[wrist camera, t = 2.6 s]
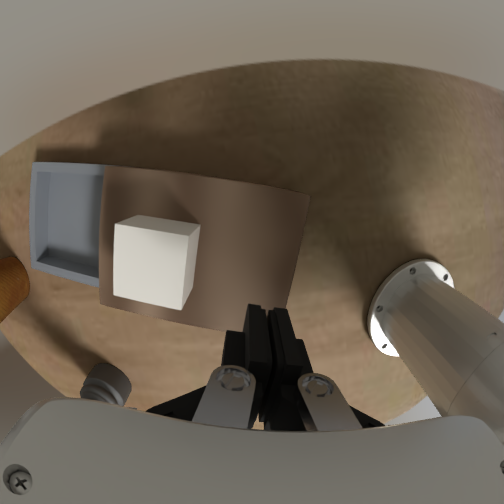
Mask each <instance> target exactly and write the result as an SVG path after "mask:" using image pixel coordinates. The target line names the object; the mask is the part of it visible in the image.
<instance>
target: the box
mask: <svg viewBox="0 0 504 504" xmlns="http://www.w3.org/2000/svg"><path fill="white" fill-rule="evenodd" d="M105 166H118V165H105V164H89V163H69V162H33V164H32V174H31V186H30V208H29V234H30V256H31V268H33V269H36V270H40V271H43V272H46V273H49V274H53V275H56V276H59V277H63V278H66V279H70V280H73V281H77V282H80V283H84V284H88V285H91V286H95V287H99V229H100V212H101V199H102V189H103V179H104V171H105ZM125 167H130V166H125Z"/></svg>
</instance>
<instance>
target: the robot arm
mask: <svg viewBox="0 0 504 504" xmlns="http://www.w3.org/2000/svg"><path fill="white" fill-rule="evenodd" d="M367 326H368V332H369V335H370V338H371V340H372V341H373V343H374V344H375V346H376V347H377V348H378V349H379V350H380V351H381V352H383V353H385V354H387V355H391V356H400V358H401V359H402V360H403V362H404V363H405V364H406V366H407V367H408V369H409V370H410V371H411V373H412V374H413V375H414V377H415V378H416V380H417V381H418V383H419V384H420V385H421V387H422V388H423V390H424V391H425V393H426V394H427V395H428V397H429V398H430V400H431V401H432V403H433V404H434V406H435V407H436V409H437V410H438V412H439V413H440V415H441V416H442V417H437V418H432V419H426V420H420V421H415V422H409V423H403V424H397V425H388V426H385V425H384V424H383V423H381V422H379V421H378V420H376V419H374V418H372V417H370V416H368V415H366V414H364V413H362V412H360V411H359V410H357V409H355V408H353V407H351V406H350V405H348V403H347V401H346V400H345V398H344V396H343V395H342V393H341V391H340V390H339V388H338V386H337V385H336V383H335V382H334V381H333V380H332V379H330V378H329V377H327V376H325V375H322V374H318V373H313V370H312V367H311V364H310V360H309V357H308V354H307V351H306V348H305V345H304V342H303V340H302V339H296V338H295V334H294V331H293V327H292V324H291V320H290V317H289V314H288V310H287V309H284V308H277V307H274V308H273V310H269V311H268V314H267V316H266V310H265V309H261V305H256V304H249V303H248V306H247V311H246V316H245V321H244V326H243V331H242V332H238V331H232V330H227V331H226V336H225V342H224V349H223V355H222V363H221V366H220V367H218V368H216V369H215V370H214V371H213V372H212V374H211V376H210V379H209V381H208V383H207V385H206V386H204V387H202V388H199V389H197V390H195V391H192V392H190V393H187V394H185V395H182V396H180V397H177V398H175V399H172V400H170V401H167V402H165V403H162V404H159V405H157V406H154V407H152V408H150V409H148V410H147V411H146V412H144V411H140V410H137V408H130V407H124V406H120V405H116V404H111V403H107V402H102V401H97V400H90V399H84V398H70V397H57V398H49V399H45V400H42V401H40V402H38V403H36V404H35V405H33V406H32V407H31V408H30V409H29V410H28V411H26V412H25V414H24V415H23V416H22V417H21V418H20V419H19V420H18V421H17V422H16V424H15V425H14V426H13V427H12V428H11V430H10V431H9V433H8V434H7V435H6V437H5V438H4V440H3V441H2V443H1V444H0V504H504V323H503V322H501V321H500V320H499V319H497V318H496V317H495V316H493V315H492V314H490V313H489V312H488V311H486V310H485V309H483V308H482V307H481V306H479V305H478V304H476V303H475V302H473V301H472V300H471V299H469V298H468V297H466V296H465V295H463V294H462V293H460V292H459V291H457V290H456V289H454V283H453V279H452V277H451V275H450V273H449V272H448V270H447V269H446V268H445V267H444V266H442V265H441V264H440V263H438V262H436V261H434V260H430V259H416V260H413V261H409V262H407V263H405V264H403V265H401V266H400V267H399V268H397V269H396V270H394V271H393V272H392V273H391V274H390V275H389V276H388V277H387V278H386V279H385V280H384V282H383V283H382V284H381V286H380V287H379V288H378V290H377V292H376V294H375V295H374V297H373V300H372V302H371V305H370V308H369V313H368V322H367ZM258 414H259V422H264V430H258V429H251V428H252V427H253V425H254V422H255V421H256V418H257V415H258Z"/></svg>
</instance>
